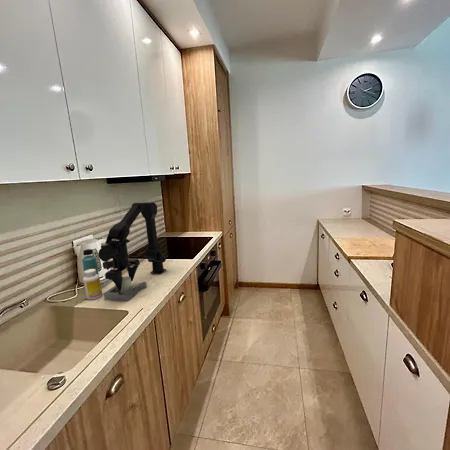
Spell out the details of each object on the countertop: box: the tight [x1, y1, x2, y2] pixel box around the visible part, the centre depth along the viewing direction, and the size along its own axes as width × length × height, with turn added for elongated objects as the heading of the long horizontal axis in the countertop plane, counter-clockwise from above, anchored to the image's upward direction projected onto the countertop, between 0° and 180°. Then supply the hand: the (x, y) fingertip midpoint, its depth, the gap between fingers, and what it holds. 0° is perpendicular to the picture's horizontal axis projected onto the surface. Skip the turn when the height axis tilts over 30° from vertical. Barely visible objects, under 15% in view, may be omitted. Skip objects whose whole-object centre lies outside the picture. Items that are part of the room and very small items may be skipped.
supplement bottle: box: [82, 269, 103, 300], centre depth 119 cm, size 7×7×13 cm
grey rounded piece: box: [119, 275, 133, 293], centre depth 122 cm, size 5×5×7 cm
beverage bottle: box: [81, 248, 100, 276], centre depth 128 cm, size 6×7×20 cm
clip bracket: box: [103, 281, 147, 302], centre depth 122 cm, size 14×14×3 cm
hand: (125, 285), depth 122 cm, fingers open, 9 cm apart
